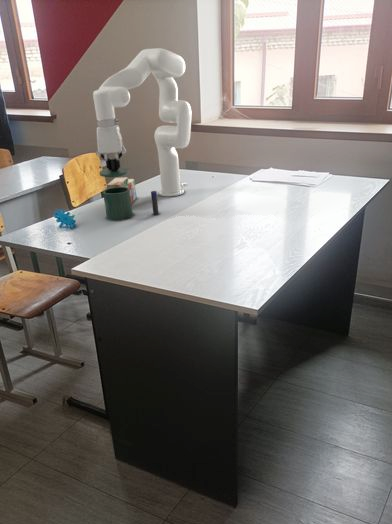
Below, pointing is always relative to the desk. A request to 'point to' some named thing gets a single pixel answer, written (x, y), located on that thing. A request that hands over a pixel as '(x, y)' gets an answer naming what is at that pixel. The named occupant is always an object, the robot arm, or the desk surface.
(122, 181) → the stack of blocks
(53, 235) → the desk surface
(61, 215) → the gear
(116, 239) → the desk surface
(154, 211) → the cylinder
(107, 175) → the lid
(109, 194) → the green hollow cylinder
